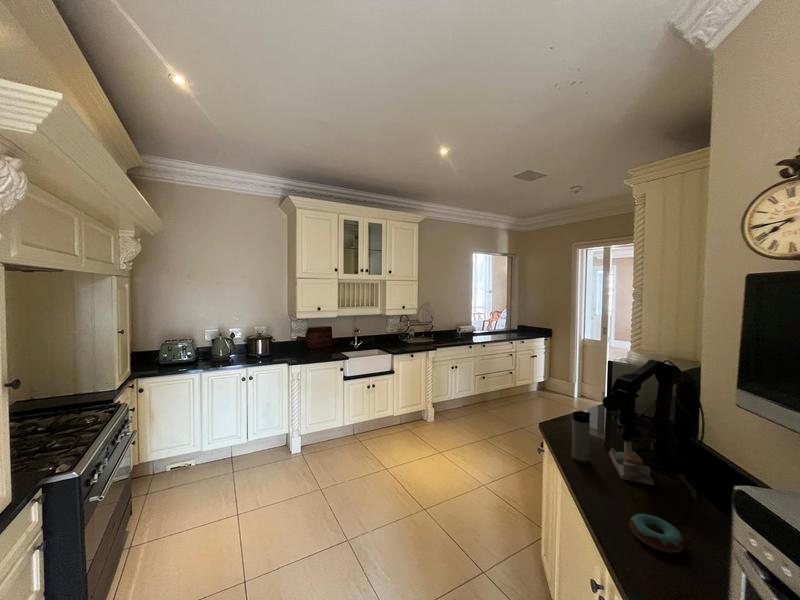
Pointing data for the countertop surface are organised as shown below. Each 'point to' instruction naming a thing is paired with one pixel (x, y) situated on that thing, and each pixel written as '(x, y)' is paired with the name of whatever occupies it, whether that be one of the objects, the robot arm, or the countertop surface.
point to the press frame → (631, 470)
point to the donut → (656, 533)
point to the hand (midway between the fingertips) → (625, 445)
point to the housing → (632, 459)
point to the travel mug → (580, 436)
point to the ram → (625, 450)
